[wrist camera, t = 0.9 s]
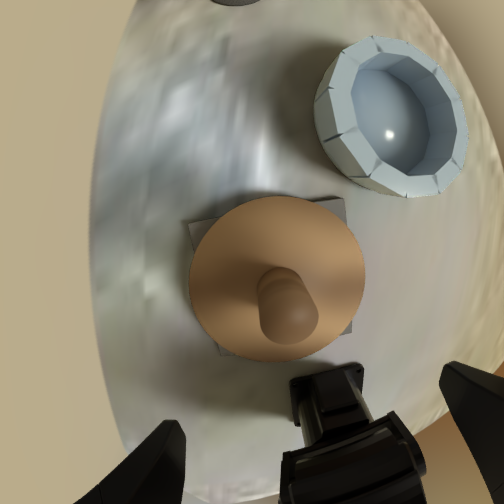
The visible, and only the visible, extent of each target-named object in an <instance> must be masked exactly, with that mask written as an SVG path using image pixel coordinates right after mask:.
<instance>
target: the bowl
mask: <svg viewBox="0 0 504 504" xmlns="http://www.w3.org/2000/svg"><path fill="white" fill-rule="evenodd" d="M459 98H460V96H459V94H458V93H457V91H456V89H455V88H454V86H453V84H452V83H451V81H450V80H449V78H448V77H447V75H446V74H445V72H444V71H443V69H442V68H441V66H438V63H437V62H435V61H434V60H433V59H431V58H430V57H429V56H427V55H426V54H425V53H423V52H422V51H420V50H419V49H418V48H416V47H415V46H413V45H412V44H410V43H409V42H407V43H406V41H403V40H398V39H392V38H386V37H379V36H369V37H367V38H365V39H363V40H361V41H359V42H357V43H355V44H353V45H351V46H349V47H348V48H346V49H344V50H342V51H341V52H340V54H339V55H338V56H337V57H336V59H335V60H334V61H333V62H332V64H331V65H330V66H329V68H328V69H327V70H326V71H325V74H324V77H323V79H322V81H321V82H320V84H319V86H318V88H317V91H316V95H315V99H314V106H313V116H314V123H315V128H316V132H317V135H318V138H319V140H320V143H321V145H322V147H323V149H324V151H325V153H326V154H327V156H328V157H329V159H330V160H331V161H332V163H333V164H334V165H335V166H336V167H337V169H339V170H340V171H341V172H342V173H343V174H344V175H345V176H346V177H348V178H349V179H350V180H352V181H353V182H355V183H357V184H358V185H360V186H363V187H365V188H367V189H371V190H374V191H376V192H378V193H380V194H385V195H392V196H398V197H404V198H412V197H420V196H429V195H438V193H441V192H442V191H443V190H444V189H445V188H446V187H447V186H448V185H449V184H450V183H451V182H452V181H453V180H454V179H455V178H456V177H457V176H458V175H459V174H460V172H461V171H460V170H462V168H463V163H464V159H465V154H466V150H467V145H468V140H469V137H467V135H469V134H468V128H467V123H466V118H465V113H464V109H463V104H462V100H460V99H459Z"/></svg>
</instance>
